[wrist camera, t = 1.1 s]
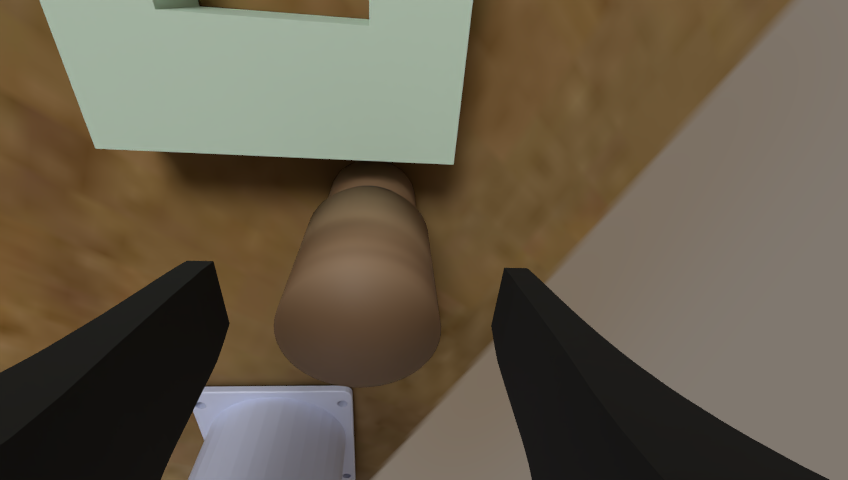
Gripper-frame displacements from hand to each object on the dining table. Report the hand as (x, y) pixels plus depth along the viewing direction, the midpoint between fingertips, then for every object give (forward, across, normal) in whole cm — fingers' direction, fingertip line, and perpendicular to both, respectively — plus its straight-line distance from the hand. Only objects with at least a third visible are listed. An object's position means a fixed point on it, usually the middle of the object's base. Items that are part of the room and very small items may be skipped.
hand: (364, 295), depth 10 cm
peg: (+6, 0, 0) cm, 6 cm away
